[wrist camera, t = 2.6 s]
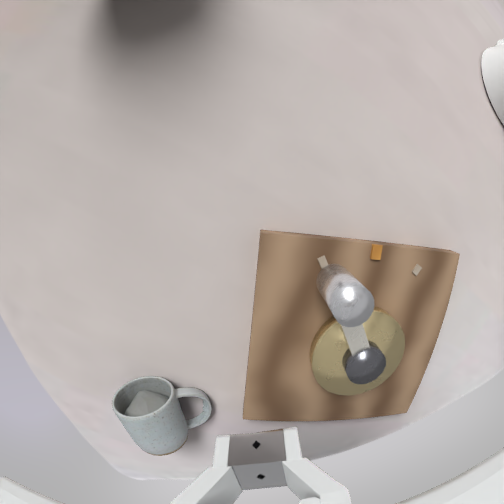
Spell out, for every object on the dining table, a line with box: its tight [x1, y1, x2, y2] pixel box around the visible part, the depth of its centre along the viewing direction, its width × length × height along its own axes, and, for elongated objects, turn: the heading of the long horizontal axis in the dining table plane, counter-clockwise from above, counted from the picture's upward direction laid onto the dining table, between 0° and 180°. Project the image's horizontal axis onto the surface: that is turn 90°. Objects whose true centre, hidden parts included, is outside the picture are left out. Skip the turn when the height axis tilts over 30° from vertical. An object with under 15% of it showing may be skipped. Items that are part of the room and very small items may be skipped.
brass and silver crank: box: [310, 264, 405, 395], centre depth 24 cm, size 10×16×8 cm, turn 25°
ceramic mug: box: [112, 376, 212, 456], centre depth 29 cm, size 11×8×8 cm
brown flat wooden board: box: [243, 230, 460, 421], centre depth 29 cm, size 22×22×2 cm
